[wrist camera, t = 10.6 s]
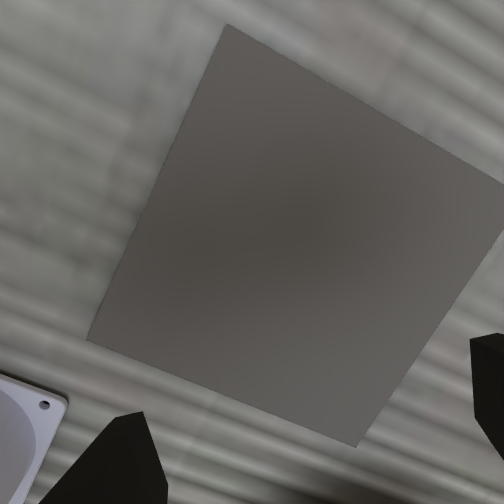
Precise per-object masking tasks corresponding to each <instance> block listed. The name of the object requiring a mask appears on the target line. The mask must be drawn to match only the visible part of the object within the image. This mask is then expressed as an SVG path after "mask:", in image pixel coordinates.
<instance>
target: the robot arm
mask: <svg viewBox="0 0 504 504" xmlns="http://www.w3.org/2000/svg"><path fill="white" fill-rule="evenodd" d="M470 352H471V368H472V383H473V399H474V414H475V419H476V420H477V422H478V423H479V425H480V426H481V428H482V429H483V431H484V432H485V434H486V435H487V437H488V439H489V440H490V442H491V443H492V444H493V446H494V447H495V449H496V450H497V451H498V453H499V454H500V456H501V457H502V459H503V460H504V334H500V333H495V334H490V335H486V336H481V337H477V338H472V339H470ZM43 400H44V401H47V402H49V404H50V405H48V404H45V403H43ZM67 406H68V404H67V401H66V400H65V398H63V397H61V396H59V395H56V394H53V393H51V392H48V391H45V390H42V389H40V388H37V387H34V386H32V385H29V384H26V383H24V382H21V381H18V380H16V379H13V378H10V377H7V376H5V375H2V374H0V504H24V502H25V499H26V497H27V495H28V493H29V491H30V488H31V486H32V484H33V482H34V480H35V477H36V475H37V473H38V471H39V469H40V467H41V464H42V462H43V460H44V458H45V456H46V453H47V451H48V449H49V447H50V445H51V442H52V440H53V438H54V436H55V434H56V431H57V429H58V427H59V425H60V423H61V420H62V418H63V416H64V414H65V412H66V409H67ZM167 499H168V483H167V480H166V477H165V474H164V471H163V469H162V466H161V463H160V460H159V457H158V454H157V451H156V448H155V445H154V443H153V440H152V437H151V434H150V431H149V428H148V425H147V422H146V419H145V417H144V414H143V411H142V412H137V413H133V414H128V415H124V416H119V417H115V418H114V419H113V420H112V421H111V422H110V423H109V424H108V425H107V426H106V428H105V429H104V430H103V431H102V432H101V433H100V434H99V435H98V436H97V438H96V439H95V440H94V441H93V442H92V443H91V444H90V446H89V447H88V448H87V449H86V450H85V451H84V453H83V454H82V455H81V456H80V457H79V458H78V459H77V461H76V462H75V463H74V464H73V465H72V466H71V467H70V469H69V470H68V471H67V472H66V473H65V474H64V475H63V477H62V478H61V479H60V480H59V481H58V482H57V483H56V484H55V486H54V487H53V488H52V489H51V490H50V491H49V492H48V494H47V495H46V496H45V497H44V498H43V499H42V500H41V501H40V502H39V504H167Z"/></svg>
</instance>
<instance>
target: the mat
mask: <svg viewBox="0 0 504 504" xmlns="http://www.w3.org/2000/svg"><path fill="white" fill-rule="evenodd" d="M503 229H504V184H502V183H500V182H499V181H497V180H495V179H494V178H492V177H490V176H488V175H487V174H485V173H483V172H482V171H480V170H478V169H476V168H475V167H473V166H471V165H470V164H468V163H466V162H464V161H463V160H461V159H459V158H458V157H456V156H454V155H452V154H451V153H449V152H447V151H446V150H444V149H442V148H440V147H439V146H437V145H435V144H434V143H432V142H430V141H428V140H427V139H425V138H423V137H422V136H420V135H418V134H416V133H415V132H413V131H411V130H410V129H408V128H406V127H404V126H403V125H401V124H399V123H398V122H396V121H394V120H392V119H391V118H389V117H387V116H386V115H384V114H382V113H380V112H379V111H377V110H375V109H374V108H372V107H370V106H368V105H367V104H365V103H363V102H362V101H360V100H358V99H356V98H355V97H353V96H351V95H350V94H348V93H346V92H344V91H343V90H341V89H339V88H338V87H336V86H334V85H332V84H331V83H329V82H327V81H325V80H324V79H322V78H320V77H319V76H317V75H315V74H313V73H312V72H310V71H308V70H307V69H305V68H303V67H301V66H300V65H298V64H296V63H295V62H293V61H291V60H289V59H288V58H286V57H284V56H283V55H281V54H279V53H277V52H276V51H274V50H272V49H271V48H269V47H267V46H265V45H264V44H262V43H260V42H259V41H257V40H255V39H253V38H252V37H250V36H248V35H247V34H245V33H243V32H241V31H240V30H238V29H236V28H235V27H233V26H231V25H229V24H228V23H227V25H226V27H225V29H224V32H223V34H222V36H221V38H220V40H219V43H218V45H217V47H216V49H215V52H214V54H213V56H212V58H211V61H210V63H209V65H208V67H207V70H206V72H205V74H204V76H203V79H202V81H201V83H200V85H199V87H198V90H197V92H196V94H195V96H194V99H193V101H192V103H191V105H190V108H189V110H188V112H187V114H186V117H185V119H184V121H183V123H182V126H181V128H180V130H179V132H178V135H177V137H176V139H175V141H174V143H173V146H172V148H171V150H170V152H169V155H168V157H167V159H166V161H165V164H164V166H163V168H162V170H161V173H160V175H159V177H158V179H157V182H156V184H155V186H154V188H153V190H152V193H151V195H150V197H149V199H148V202H147V204H146V206H145V208H144V211H143V213H142V215H141V217H140V220H139V222H138V224H137V226H136V229H135V231H134V233H133V235H132V237H131V240H130V242H129V244H128V246H127V249H126V251H125V253H124V255H123V258H122V260H121V262H120V264H119V267H118V269H117V271H116V273H115V276H114V278H113V280H112V282H111V284H110V287H109V289H108V291H107V293H106V296H105V298H104V300H103V302H102V305H101V307H100V309H99V311H98V314H97V316H96V318H95V320H94V323H93V325H92V327H91V329H90V331H89V334H88V336H87V338H86V340H88V341H91V342H93V343H96V344H98V345H100V346H103V347H105V348H108V349H110V350H113V351H115V352H118V353H120V354H123V355H125V356H128V357H130V358H133V359H135V360H138V361H140V362H143V363H145V364H148V365H150V366H153V367H155V368H158V369H160V370H163V371H165V372H168V373H170V374H173V375H175V376H178V377H180V378H183V379H185V380H188V381H190V382H193V383H195V384H198V385H200V386H203V387H205V388H208V389H210V390H213V391H215V392H218V393H220V394H223V395H225V396H228V397H230V398H233V399H235V400H238V401H240V402H243V403H245V404H248V405H250V406H253V407H255V408H258V409H260V410H263V411H265V412H268V413H270V414H273V415H275V416H278V417H280V418H283V419H285V420H288V421H290V422H293V423H295V424H298V425H300V426H303V427H305V428H308V429H310V430H313V431H315V432H318V433H320V434H322V435H325V436H327V437H330V438H332V439H335V440H337V441H340V442H342V443H345V444H347V445H350V446H352V447H355V448H356V447H357V445H358V444H359V442H360V441H361V439H362V438H363V436H364V435H365V434H366V432H367V431H368V429H369V428H370V426H371V425H372V423H373V422H374V420H375V419H376V417H377V416H378V414H379V413H380V411H381V410H382V408H383V407H384V405H385V404H386V402H387V401H388V399H389V398H390V396H391V395H392V394H393V392H394V391H395V389H396V388H397V386H398V385H399V383H400V382H401V380H402V379H403V377H404V376H405V374H406V373H407V371H408V370H409V368H410V367H411V365H412V364H413V362H414V361H415V359H416V358H417V356H418V355H419V354H420V352H421V351H422V349H423V348H424V346H425V345H426V343H427V342H428V340H429V339H430V337H431V336H432V334H433V333H434V331H435V330H436V328H437V327H438V325H439V324H440V322H441V321H442V319H443V318H444V317H445V315H446V314H447V312H448V311H449V309H450V308H451V306H452V305H453V303H454V302H455V300H456V299H457V297H458V296H459V294H460V293H461V291H462V290H463V288H464V287H465V285H466V284H467V282H468V281H469V279H470V278H471V277H472V275H473V274H474V272H475V271H476V269H477V268H478V266H479V265H480V263H481V262H482V260H483V259H484V257H485V256H486V254H487V253H488V251H489V250H490V248H491V247H492V245H493V244H494V242H495V241H496V239H497V238H498V237H499V235H500V234H501V232H502V231H503Z"/></svg>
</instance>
